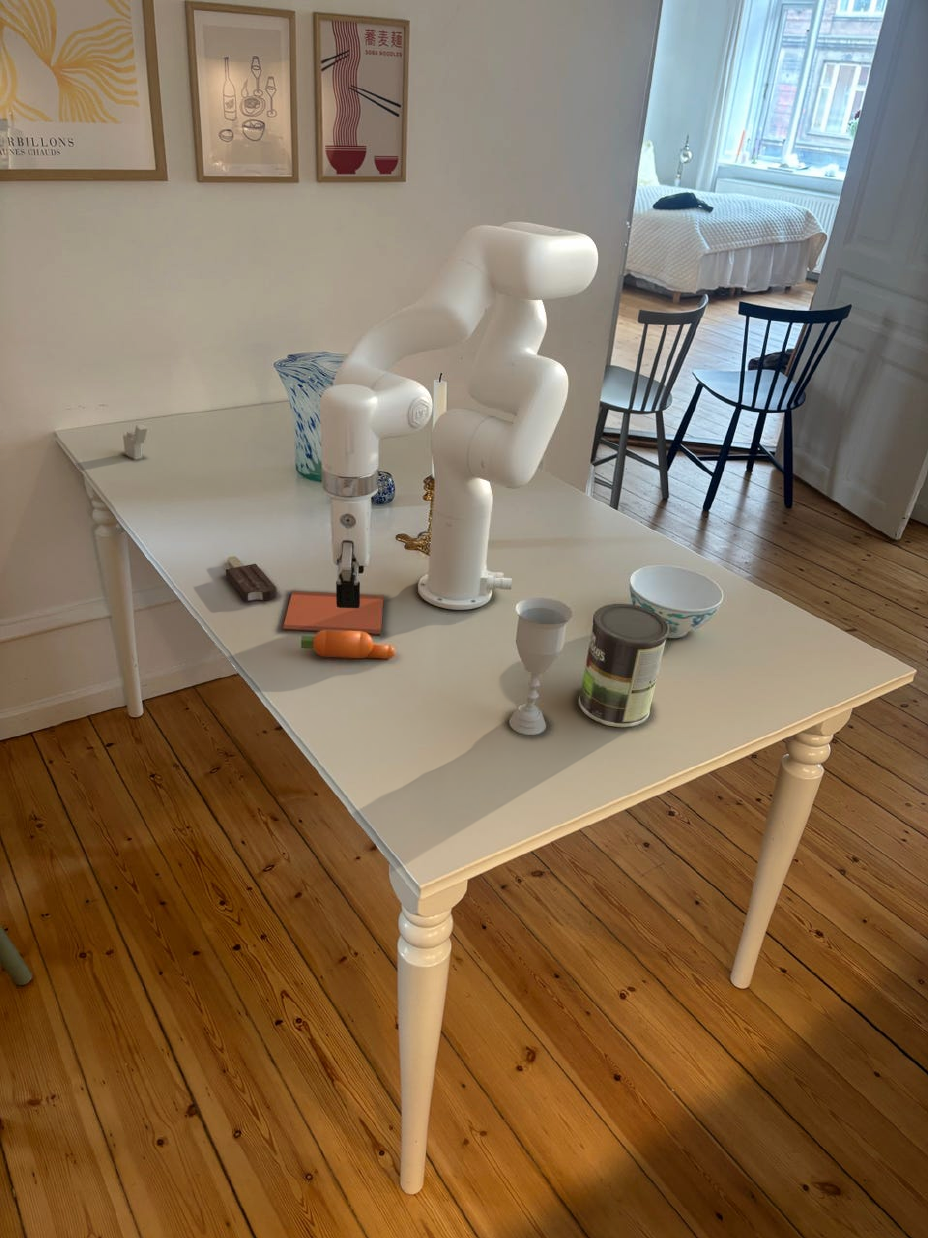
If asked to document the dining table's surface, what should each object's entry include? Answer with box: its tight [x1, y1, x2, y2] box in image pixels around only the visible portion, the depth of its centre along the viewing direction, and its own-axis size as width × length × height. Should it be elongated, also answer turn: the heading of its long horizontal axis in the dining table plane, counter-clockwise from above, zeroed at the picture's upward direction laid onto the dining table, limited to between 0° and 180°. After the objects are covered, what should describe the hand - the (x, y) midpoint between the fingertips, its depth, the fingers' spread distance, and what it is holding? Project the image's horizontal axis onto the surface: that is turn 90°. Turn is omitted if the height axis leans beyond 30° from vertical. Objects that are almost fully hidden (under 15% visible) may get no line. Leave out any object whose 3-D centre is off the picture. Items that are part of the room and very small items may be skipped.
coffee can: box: [578, 603, 669, 728], centre depth 129 cm, size 10×10×14 cm
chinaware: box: [629, 564, 724, 639], centre depth 152 cm, size 15×15×8 cm
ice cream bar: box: [225, 555, 277, 602], centre depth 155 cm, size 5×2×15 cm
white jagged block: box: [122, 423, 148, 461], centre depth 195 cm, size 7×2×8 cm, turn 48°
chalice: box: [508, 597, 573, 736], centre depth 123 cm, size 7×7×18 cm
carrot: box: [300, 630, 396, 659], centre depth 138 cm, size 14×4×4 cm, turn 92°
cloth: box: [282, 590, 384, 636], centre depth 149 cm, size 15×12×1 cm
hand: (350, 589), depth 134 cm, fingers open, 9 cm apart
